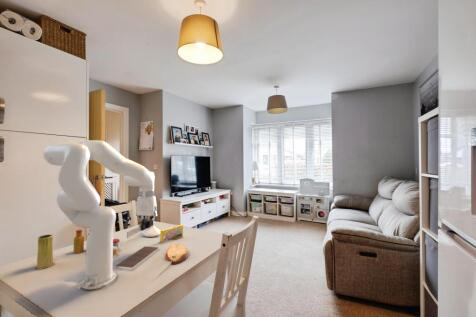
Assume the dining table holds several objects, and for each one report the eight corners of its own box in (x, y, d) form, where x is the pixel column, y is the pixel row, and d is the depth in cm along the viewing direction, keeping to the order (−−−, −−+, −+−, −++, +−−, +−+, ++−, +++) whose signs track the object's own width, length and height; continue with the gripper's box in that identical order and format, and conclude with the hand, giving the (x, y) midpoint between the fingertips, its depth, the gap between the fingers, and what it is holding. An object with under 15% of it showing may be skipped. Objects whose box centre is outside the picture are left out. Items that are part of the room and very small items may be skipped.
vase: (33, 269, 102) (33, 239, 102) (41, 263, 108) (41, 234, 108) (48, 268, 103) (49, 237, 103) (55, 262, 109) (56, 233, 109)
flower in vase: (164, 234, 151) (164, 198, 151) (150, 239, 141) (150, 200, 141) (152, 231, 158) (152, 196, 158) (137, 235, 148) (138, 198, 148)
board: (132, 270, 102) (132, 267, 102) (115, 268, 104) (115, 265, 104) (159, 249, 126) (159, 247, 126) (144, 248, 127) (144, 246, 127)
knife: (129, 238, 104) (129, 231, 104) (125, 237, 105) (125, 231, 105) (153, 225, 125) (153, 219, 125) (150, 225, 125) (150, 219, 125)
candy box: (161, 244, 133) (161, 230, 134) (159, 243, 135) (159, 230, 135) (183, 237, 146) (183, 224, 146) (181, 236, 148) (181, 224, 148)
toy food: (70, 253, 120) (71, 231, 120) (92, 244, 132) (92, 224, 132) (108, 260, 112) (109, 236, 112) (128, 250, 124) (128, 229, 124)
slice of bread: (176, 246, 131) (176, 239, 131) (199, 252, 122) (199, 246, 122) (150, 257, 116) (150, 250, 116) (174, 265, 107) (174, 258, 107)
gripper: (129, 194, 118) (129, 228, 118) (156, 195, 115) (156, 230, 115) (138, 192, 125) (137, 224, 125) (163, 193, 123) (163, 226, 123)
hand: (146, 227), depth 120 cm, fingers closed on knife, 2 cm apart
